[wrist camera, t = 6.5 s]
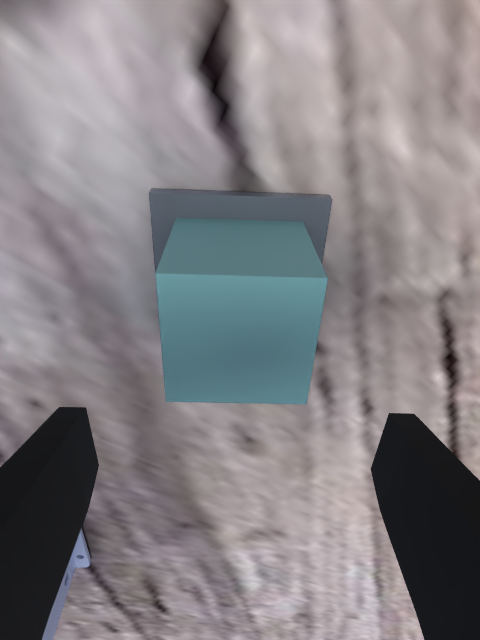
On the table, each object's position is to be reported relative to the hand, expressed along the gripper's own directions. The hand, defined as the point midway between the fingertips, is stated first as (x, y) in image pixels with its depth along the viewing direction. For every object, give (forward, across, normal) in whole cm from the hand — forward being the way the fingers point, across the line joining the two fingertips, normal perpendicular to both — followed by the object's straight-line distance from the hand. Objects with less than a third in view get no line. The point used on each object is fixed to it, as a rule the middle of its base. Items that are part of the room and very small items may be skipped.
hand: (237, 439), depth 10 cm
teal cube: (+9, 0, 0) cm, 9 cm away
